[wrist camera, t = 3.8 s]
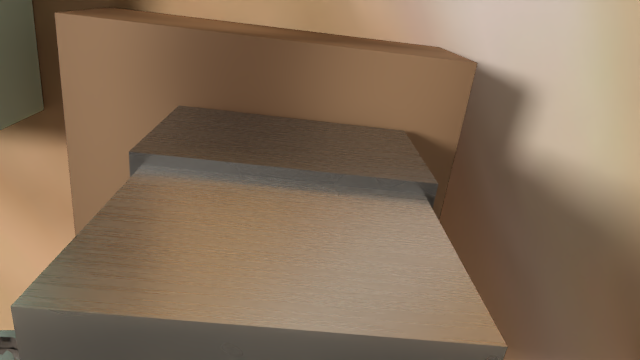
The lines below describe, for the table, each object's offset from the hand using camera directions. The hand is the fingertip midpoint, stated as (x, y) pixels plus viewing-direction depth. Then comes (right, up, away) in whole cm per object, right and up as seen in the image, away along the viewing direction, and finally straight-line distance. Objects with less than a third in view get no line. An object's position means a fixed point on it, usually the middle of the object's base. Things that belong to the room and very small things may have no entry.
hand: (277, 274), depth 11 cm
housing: (0, 0, +1) cm, 1 cm away
